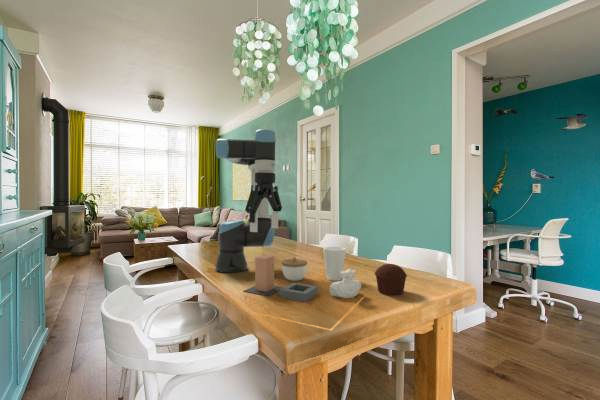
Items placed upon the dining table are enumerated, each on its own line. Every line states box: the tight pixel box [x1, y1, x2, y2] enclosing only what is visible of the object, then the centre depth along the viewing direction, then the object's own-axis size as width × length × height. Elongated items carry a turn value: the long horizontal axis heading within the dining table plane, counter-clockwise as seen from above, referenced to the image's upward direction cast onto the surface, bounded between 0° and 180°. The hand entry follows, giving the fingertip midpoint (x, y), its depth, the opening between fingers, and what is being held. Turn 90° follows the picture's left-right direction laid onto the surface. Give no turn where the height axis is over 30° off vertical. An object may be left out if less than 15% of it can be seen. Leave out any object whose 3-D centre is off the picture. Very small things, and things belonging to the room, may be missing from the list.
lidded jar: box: [281, 257, 308, 282], centre depth 129 cm, size 11×11×9 cm
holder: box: [279, 282, 319, 303], centre depth 107 cm, size 10×10×3 cm
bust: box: [329, 268, 362, 299], centre depth 106 cm, size 12×8×11 cm
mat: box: [243, 285, 285, 298], centre depth 113 cm, size 11×11×1 cm
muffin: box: [374, 263, 408, 297], centre depth 113 cm, size 12×11×10 cm
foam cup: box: [322, 246, 346, 282], centre depth 131 cm, size 10×9×13 cm
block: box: [254, 254, 275, 292], centre depth 113 cm, size 5×5×12 cm
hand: (264, 230), depth 113 cm, fingers open, 13 cm apart
